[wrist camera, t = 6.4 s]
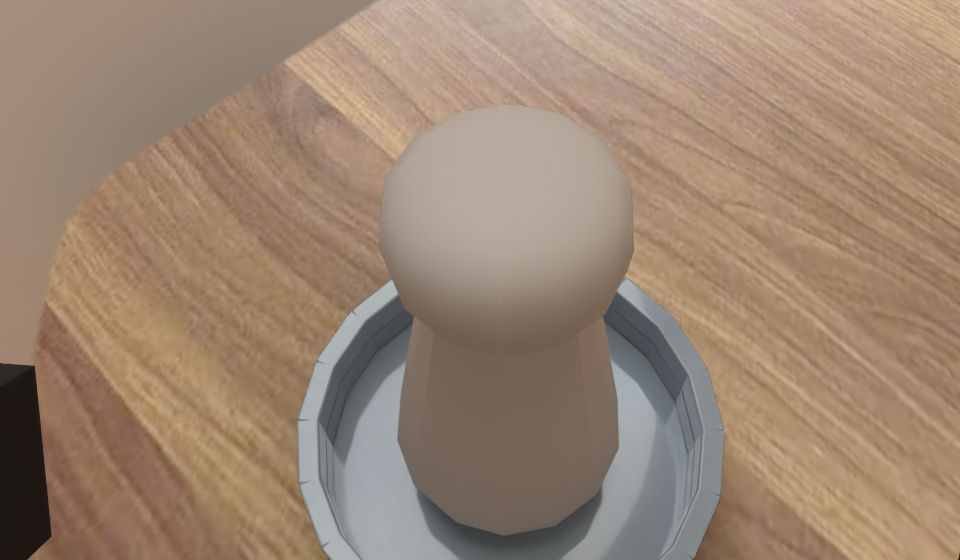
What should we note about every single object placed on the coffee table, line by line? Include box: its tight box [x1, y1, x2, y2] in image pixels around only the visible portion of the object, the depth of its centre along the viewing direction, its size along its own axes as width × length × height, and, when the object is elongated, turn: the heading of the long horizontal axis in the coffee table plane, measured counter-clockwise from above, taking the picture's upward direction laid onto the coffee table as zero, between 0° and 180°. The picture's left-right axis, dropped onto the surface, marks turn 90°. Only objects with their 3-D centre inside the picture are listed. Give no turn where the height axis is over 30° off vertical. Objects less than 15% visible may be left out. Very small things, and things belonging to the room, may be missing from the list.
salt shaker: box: [379, 104, 634, 536], centre depth 19 cm, size 6×6×13 cm
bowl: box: [297, 276, 725, 560], centre depth 24 cm, size 11×11×2 cm
